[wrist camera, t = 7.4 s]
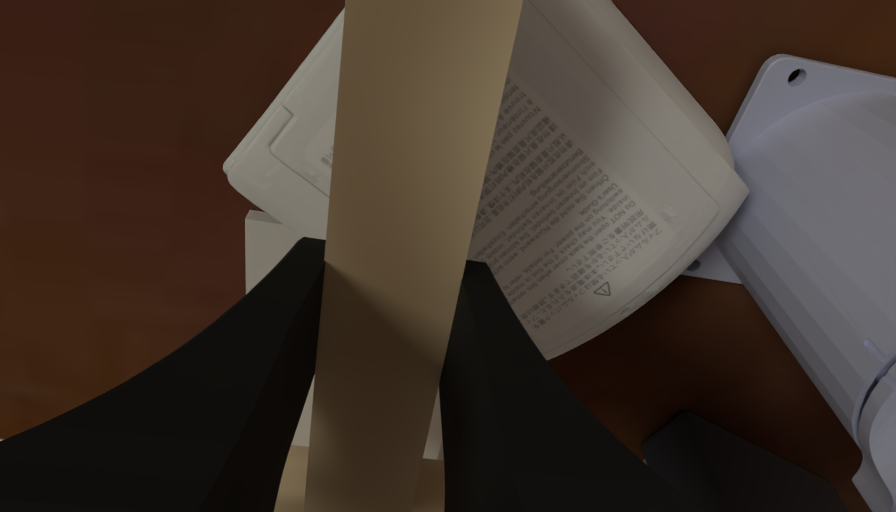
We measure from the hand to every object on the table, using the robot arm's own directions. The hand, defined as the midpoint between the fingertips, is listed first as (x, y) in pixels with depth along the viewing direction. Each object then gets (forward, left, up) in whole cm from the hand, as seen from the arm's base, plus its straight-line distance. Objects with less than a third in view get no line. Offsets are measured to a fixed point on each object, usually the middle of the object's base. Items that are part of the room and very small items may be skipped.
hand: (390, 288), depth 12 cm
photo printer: (+3, -4, -6) cm, 7 cm away
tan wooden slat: (0, +1, -3) cm, 3 cm away
